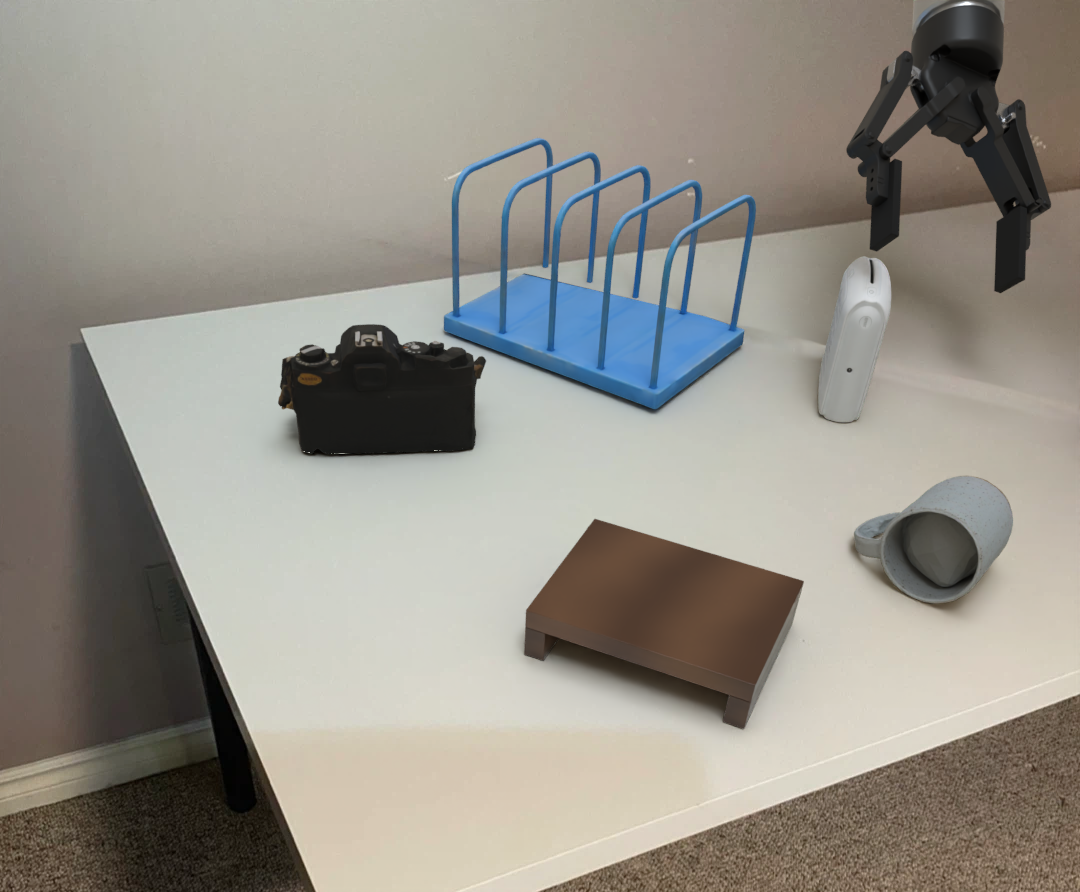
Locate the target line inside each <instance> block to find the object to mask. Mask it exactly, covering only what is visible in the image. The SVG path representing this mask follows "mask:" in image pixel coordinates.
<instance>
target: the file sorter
mask: <svg viewBox="0 0 1080 892" xmlns="http://www.w3.org/2000/svg"><path fill="white" fill-rule="evenodd" d="M537 146H542V147H543V148H544V151H545V155H546V168H545V169H542V170H540V171H538V172H535V173H532V175H529V176H527V177H525V178H522V179H520V180H518V181H517V182H516V183H515V184H514V185H513V186H512V187H511V188H510V190H509V192H508V193H507V195H506V198H505V200H504V204H503V207H502V212H501V223H500V224H501V225H500V227H501V228H500V229H501V230H500V268H499V269H500V274H499V275H500V276H499V277H500V278H499V279H500V280H499V286H497V287H495V288H493V289H490V291H487V292H486V293H484V294H482V295H480V296H478V297H476V298H474V299H472V300H470V301H468V302H467V303H465V304H463V305H461V306H460V296H461V295H460V294H461V293H460V222H459V221H460V218H459V217H460V216H459V215H460V211H459V210H460V207H459V205H460V195H461V190H462V187H463V185H464V183H465V181H466V179H467V178H468V176H470V175H471V174H472V173H474V172H476V171H479V170H481V169H483V168H485V167H488V166H490V165H492V164H494V163H497V162H500V161H503V160H504V159H507V158H510V157H511V156H514V155H517V154H519V153H522V152H524V151H527V150H530V149H532V148H534V147H537ZM553 154H554V153H553V150H552V146H551V145H550V143H549V141H548V140H547V139H544V138H542V137H535V138H532V139H529V140H528V141H525V142H523V143H520V144H517V145H515V146H511V147H510V148H507V149H505V150H501V151H500V152H497V153H494V154H492V155H489V156H488V157H485V158H483V159H480V160H478V161H475V162H472V163H471V164H469V165H467V166H466V167H464V168H463V169H462V171H460V173H459V175H458V177H456V180H455V183H454V186H453V189H452V195H451V279H452V283H451V284H452V310H451V311H449V312H448V313H446V314H444V315H443V331H444V332H446V333H449V334H452V335H454V336H457V337H459V338H461V339H464V340H467V341H470V342H472V343H476V344H478V345H480V346H483V347H485V348H489V349H491V350H493V351H497V352H499V353H502V354H505V355H507V356H510V357H513V358H515V359H518V360H520V361H523V362H526V363H529V364H531V365H535V366H536V367H540V368H542V369H545V370H548V371H551V372H552V373H556V374H559V375H561V376H564V377H567V378H569V379H572V380H575V381H577V382H580V383H582V384H586V385H588V386H590V387H593V388H596V389H599V390H602V391H605V392H607V393H610V394H612V395H615V396H618V397H620V398H622V399H626V400H628V401H632V402H634V403H637V404H639V405H641V406H645V407H646V408H650V409H653V410H657V409H658V408H660V407H662V406H663V405H664V404H665V403H666V402H668V401H669V400H671V399H672V398H673V397H674V396H676V395H677V394H678V393H680V392H681V391H683V390H684V389H685V388H687V387H688V386H690V384H692V383H693V382H695V380H697V379H698V378H699V377H701V376H703V375H704V374H706V372H708V371H710V370H711V369H712V368H713V367H714V366H716V365H717V364H718V363H720V362H721V361H723V359H725V358H726V357H728V356H729V355H730V354H732V353H733V352H735V351H736V350H737V349H739V348H740V347H741V346H743V344H744V338H745V329H744V328H741V327H738V321H739V316H740V311H741V310H740V309H741V305H742V304H741V303H742V300H743V299H742V298H743V293H744V287H745V282H746V275H747V272H748V271H747V270H748V265H749V259H750V253H751V246H752V241H753V235H754V229H755V225H756V223H755V222H756V213H757V208H756V207H757V205H756V201H755V199H754V197H753V196H752V195H749V194H743V195H741V196H739V197H737V198H735V199H733V200H731V201H729V202H727V203H726V204H724V205H721V206H720V207H718V208H717V209H715V210H713V211H711V212H709V213H708V214H706V215H704V216H702V217H701V213H702V207H703V206H702V205H703V190H702V186H701V184H700V182H699V181H697V180H694V179H687V180H685V181H684V182H682V183H679V184H677V185H676V186H674V187H671V188H669V189H667V190H665V191H664V192H661V193H660V194H658V195H655V196H654V197H653V198H650V197H651V187H652V185H651V174H650V172H649V169H648V168H647V167H646V166H645V165H642V164H641V165H640V164H636V165H634V166H631V167H629V168H627V169H624V170H622V171H619V172H618V173H616V174H614V175H611V176H610V177H607V178H606V179H603V180H601V178H602V171H601V170H602V167H601V162H600V158H599V157H598V155H597V154H596V153H595V152H592V151H589V150H588V151H583V152H581V153H578V154H576V155H574V156H572V157H570V158H567V159H565V160H563V161H560V162H558V163H556V164H554V156H553ZM588 159H590V160H591V161H592V164H593V171H594V175H593V176H594V177H593V185H590V186H589V187H586V188H585V189H582V190H580V191H579V192H577V193H574V194H572V195H571V196H569V197H568V198H567V199H566V200H565V201H564V203H563V204H562V206H561V208H560V209H559V211H558V214H557V216H556V219H555V223H554V227H553V231H552V232H553V234H552V246H551V247H552V249H551V266H550V267H551V268H550V279H549V278H546V277H541V276H538V275H534V274H528V273H522V274H520V275H518V276H516V277H514V278H512V279H510V280H509V281H508V271H509V270H508V264H509V263H508V262H509V260H508V259H509V257H508V255H509V225H510V224H509V222H510V212H511V208H512V205H513V202H514V200H515V198H516V197H517V195H518V194H519V192H521V190H522V189H524V188H526V187H528V186H530V185H533V184H535V183H537V182H539V181H541V180H543V179H545V180H546V181H545V203H544V205H545V206H544V227H543V228H544V229H543V249H542V250H543V252H542V267H543V268H544V269H547V268H549V264H550V263H549V262H550V261H549V260H550V242H551V221H552V200H553V198H552V196H553V174H556V173H558V172H561V171H563V170H565V169H567V168H569V167H572V166H574V165H577V164H578V163H582V162H583V161H586V160H588ZM638 173H640V174H641V175H642V176H641V177H642V179H643V193H642V201H641V202H642V203H641V204H639V205H637V206H636V207H634V208H632V209H630V210H628V211H627V212H624V214H623V215H621V216H620V217H619V219H618V221H617V222H616V223H615V226H614V228H613V230H612V232H611V234H610V238H609V241H608V244H607V252H606V258H605V270H604V280H603V291H600V290H596V289H592V288H588V287H583V286H580V285H575V284H572V283H571V284H570V283H566V282H562V281H559V263H560V261H559V260H560V248H561V237H562V227H563V223H564V220H565V218H566V215H567V213H568V212H569V210H570V209H571V208H572V207H573V206H574V205H575V204H576V203H578V202H580V201H582V200H585V199H586V198H588V197H590V196H592V207H591V216H590V217H591V218H590V219H591V220H590V235H589V248H588V258H587V259H588V261H587V274H586V275H587V276H586V283H589V284H592V283H593V282H594V280H593V279H594V269H595V256H596V246H597V245H596V244H597V243H596V242H597V241H596V240H597V231H598V218H599V204H600V192H601V191H603V190H604V189H606V188H608V187H610V186H613V185H615V184H616V183H619V182H621V181H623V180H625V179H627V178H630V177H631V176H634V175H636V174H638ZM690 188H693V190H694V200H695V201H694V208H693V218H692V223H691V224H689V225H687V226H686V227H684V228H682V230H680V231H679V232H678V233H677V235H675V237H674V239H673V240H672V242H671V244H670V246H669V248H668V250H667V253H666V257H665V260H664V264H663V271H662V278H661V284H660V285H661V286H660V293H659V302H658V304H655V303H651V302H647V301H644V300H643V301H642V300H639V299H638V298H640V288H641V280H642V271H643V262H644V253H645V244H646V235H647V225H648V218H649V210H650V209H652V208H655V207H657V206H658V205H659V204H661V203H663V202H665V201H667V200H669V199H671V198H673V197H674V196H676V195H678V194H680V193H682V192H684V191H686V190H688V189H690ZM744 203H747V206H748V217H747V226H746V230H745V231H746V232H745V238H744V242H743V248H742V249H743V250H742V255H741V261H740V268H739V272H738V278H737V282H736V283H737V284H736V290H735V295H734V300H733V301H734V302H733V307H732V313H731V319H730V324H729V323H726V322H724V321H721V320H717V319H715V318H711V317H708V316H706V315H701V314H697V313H694V312H690V311H688V304H689V297H690V292H691V291H690V290H691V284H692V277H693V270H694V263H695V255H696V250H697V242H698V241H697V240H698V234H699V229H701V228H703V227H705V226H706V225H708V224H710V223H712V222H713V221H714V220H716V219H718V218H720V217H722V216H723V215H725V214H727V213H728V212H730V211H732V210H734V209H737V207H739V206H742V205H743V204H744ZM640 215H641V217H640V223H639V232H638V240H637V241H638V243H637V253H636V261H635V262H636V263H635V271H634V281H633V288H632V289H633V290H632V298H630V297H626V296H623V295H622V296H621V295H617V294H613V293H611V290H612V277H613V267H614V258H615V250H616V245H617V241H618V239H619V236H620V234H621V231H622V230H623V228H624V227H625V225H626V224H627V223H628V222H629V221H630V220H632V219H634V218H636V217H637V216H640ZM689 235H690V237H689V245H688V253H687V261H686V268H685V274H684V281H683V288H682V289H683V290H682V296H681V305H680V309H677V308H673V307H669V306H667V301H668V295H669V285H670V279H671V271H672V266H673V261H674V258H675V255H676V253H677V251H678V248H679V246H680V245H681V244H682V242H683V241H684V240H685V239H686V238H687V237H688V236H689Z"/></svg>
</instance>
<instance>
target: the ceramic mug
mask: <svg viewBox="0 0 1080 892" xmlns="http://www.w3.org/2000/svg"><path fill="white" fill-rule="evenodd" d="M1013 526H1014V516H1013V510H1012V507H1011V504H1010V501H1009V500H1008V497H1007V496H1006V495H1005V494H1004V492H1003V491H1002V490H1001V489H1000V488H999V487H998V486H996V485H995V484H994V483H991V482H990V481H988V480H986V479H984V478H981V477H979V476H974V475H973V476H972V475H958V476H954V477H949V478H946V479H944V480H942V481H939V482H937V483H936V484H934V485H933V486H931V487H930V488H929V489H927V490H926V491H925V492H923V494H921V495H920V497H918V498H917V499H916V500H914V501H913V502H912V503H911V504H909V505H907V507H905V508H904V509H903V510H902V511H899V512H891V513H886V514H882V515H878V516H874V517H872V518H870V519H868V520H866V521H865V522H862V523H861V524H859V525H858V526H857V527H855V529H854V532H853V538H854V547H855V550H856V552H857V553H858V554H859V555H861V556H863V557H865V558H871V559H877V560H880V562H881V565H882V568H883V571H884V572H885V574H886V576H887V577H888V579H889V581H890V582H891V583H892V584H893V585H894V586H895V587H896V588H897V589H899V590H900V591H901V592H902V593H904V594H905V595H906V596H908V597H910V598H912V599H915V600H917V601H920V602H923V603H927V604H946V603H949V602H953V601H957V600H958V599H960V598H962V597H964V596H966V595H967V594H968V593H970V592H971V590H973V588H974V587H975V586H976V585H977V584H978V583H979V581H980V580H981V579H982V577H983V576H984V575H985V574H986V572H987V571H988V570H989V569H990V568H991V566H992V565H993V563H994V562H995V561H996V560H997V559H998V557H999V556H1000V555H1001V553H1002V552H1003V551H1004V549H1005V548H1006V547H1007V546H1008V545H1007V544H1008V542H1009V540H1010V537H1011V535H1012V533H1013ZM880 535H882V536H881V537H880V538H874V537H877V536H880Z"/></svg>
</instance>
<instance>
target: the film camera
mask: <svg viewBox="0 0 1080 892" xmlns="http://www.w3.org/2000/svg"><path fill="white" fill-rule="evenodd" d="M486 363H487V359H486V358H485V357H484V356H483V355H481V356H478V357H477V358H476V359H474V354H472V353H470V352H467V351H466V349H464V348H463V347H458V346H451V347H449V348H448V349H447V348H446V349H445V343H444V342H440V341H437V340H434V341H431V342H429V343H426V342H424V341H416V340H415V341H413V340H412V341H409V342H406V343H403V344H401V343H400V341H399V338H398V335H397V334H396V333H395V332H394V331H393V330H391V329H390V327H388V326H387V325H384V324H375V323H372V324H371V323H370V324H369V323H368V324H367V323H366V324H355V325H351V326H349V327H347V329H345V330H344V332H342V333H341V335H340V341H339V344H338V345H336V346H335V349H334V352H326V349H325V348H323V347H321V346H319V345H316V344H311V343H310V344H305V345H303V346H302V347H300V348H299V352H297V353H296V354H295V355H290V356H286V357H284V358H282V360H281V371H280V372H281V373H280V376H281V379H280V384H279V388H280V394H279V396H278V401H277V403H278V406H279V407H281V410H286V409H287V410H291V411H293V412H294V413H295V417H296V425H297V432H298V433H297V434H298V444H299V447H300V450H301V449H302V450H301V452H302V451H305V452H310V453H314V452H315V451H316V450H319V451H320V452H321V453H323V454H325V455H328V454H331V453H332V454H334V453H365V454H367V453H368V454H371V453H372V454H374V453H376V454H384V453H383V452H387V453H386V454H389V453H388V452H400V453H403V452H404V453H405V452H406V453H418V452H417V451H422V452H426V451H434V450H438V452H440V451H439V450H443V451H442V452H453V451H452V450H456V451H464V449H465V450H470V449H469V448H471V449H473V448H475V444H476V443H475V442H476V438H477V429H476V418H475V417H476V386H477V382H478V380H479V379H480V380H481V379H482V374H483V371H484V368H485V365H486ZM474 443H475V444H474ZM461 449H462V450H461ZM446 450H447V451H446ZM334 455H335V454H334Z"/></svg>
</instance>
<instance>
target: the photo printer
mask: <svg viewBox="0 0 1080 892" xmlns="http://www.w3.org/2000/svg"><path fill="white" fill-rule="evenodd" d="M891 305H892V283H891V277H890V272H889V270H888V268H887V266H886V265H885V264H884V262H883V261H882V260H881V259H880V258H877V257H869V256H865V255H862V256H860V257H857V258H856V259H855V260H853V261H852V262H851V263H850V264H849V265H848V267H847V268H845V270H844V273H843V275H842V278H841V281H840V285H839V291H838V295H837V300H836V304H835V308H834V311H833V316H832V320H831V324H830V328H829V332H828V336H827V340H826V343H825V348H824V351H823V355H822V360H821V362H820V368H819V376H818V390H817V391H818V392H817V408H818V412H819V414H820V415H821V416H823V418H825V419H826V420H829V421H831V422H836V423H852V422H854V421H855V420H856V421H857V420H858V419H859V417H860V415H861V413H862V412H863V408H864V406H865V402H866V400H867V396H868V393H869V389H870V385H871V382H872V378H873V375H874V371H875V368H876V364H877V361H878V358H879V354H880V349H881V346H882V345H883V344H882V343H883V340H884V337H885V334H886V329H887V326H888V322H889V319H890V316H891V315H890V314H891Z"/></svg>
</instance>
